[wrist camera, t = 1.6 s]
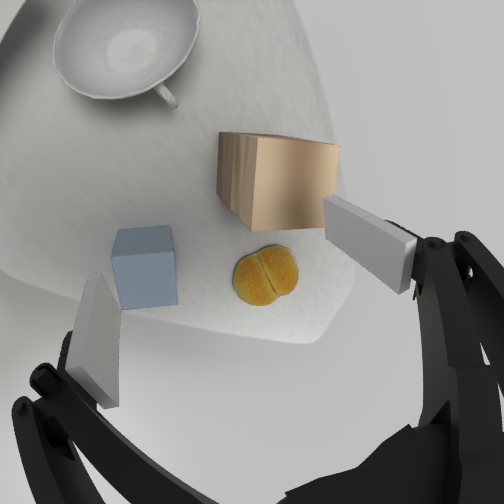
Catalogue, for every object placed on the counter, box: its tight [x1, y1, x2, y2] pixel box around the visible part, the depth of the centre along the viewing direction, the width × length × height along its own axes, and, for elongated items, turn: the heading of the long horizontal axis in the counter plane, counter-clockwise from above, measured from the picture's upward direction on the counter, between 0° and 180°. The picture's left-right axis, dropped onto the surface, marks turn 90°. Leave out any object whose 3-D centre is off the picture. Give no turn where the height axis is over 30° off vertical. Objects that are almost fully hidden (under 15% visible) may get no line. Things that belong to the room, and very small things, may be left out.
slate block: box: [111, 226, 178, 310], centre depth 28 cm, size 6×6×7 cm
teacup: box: [52, 0, 201, 109], centre depth 18 cm, size 15×12×8 cm
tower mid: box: [230, 134, 340, 232], centre depth 23 cm, size 7×7×6 cm
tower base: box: [217, 132, 300, 208], centre depth 28 cm, size 7×7×6 cm
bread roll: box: [233, 246, 299, 306], centre depth 37 cm, size 8×9×4 cm
